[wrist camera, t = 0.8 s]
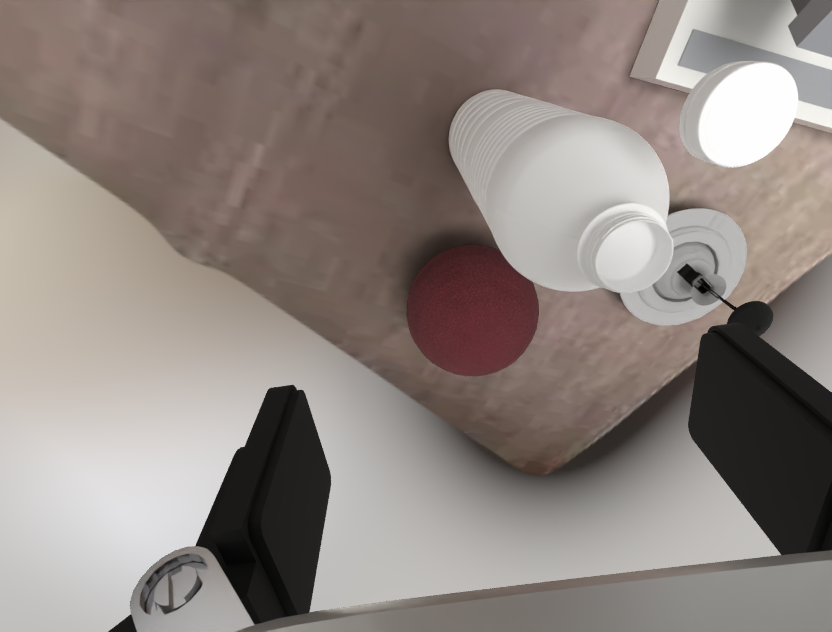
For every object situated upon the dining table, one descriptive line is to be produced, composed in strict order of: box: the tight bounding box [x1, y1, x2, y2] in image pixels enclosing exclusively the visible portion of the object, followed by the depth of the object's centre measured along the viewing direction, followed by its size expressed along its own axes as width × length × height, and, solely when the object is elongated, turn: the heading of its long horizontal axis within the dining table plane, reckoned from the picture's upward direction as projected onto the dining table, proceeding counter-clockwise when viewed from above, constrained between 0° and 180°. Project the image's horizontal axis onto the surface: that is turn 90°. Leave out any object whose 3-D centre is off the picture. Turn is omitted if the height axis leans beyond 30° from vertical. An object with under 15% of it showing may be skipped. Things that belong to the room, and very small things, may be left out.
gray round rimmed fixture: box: [620, 208, 773, 336], centre depth 35 cm, size 12×10×10 cm
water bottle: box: [449, 61, 798, 293], centre depth 24 cm, size 9×6×25 cm
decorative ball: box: [406, 245, 539, 376], centre depth 37 cm, size 10×10×10 cm
